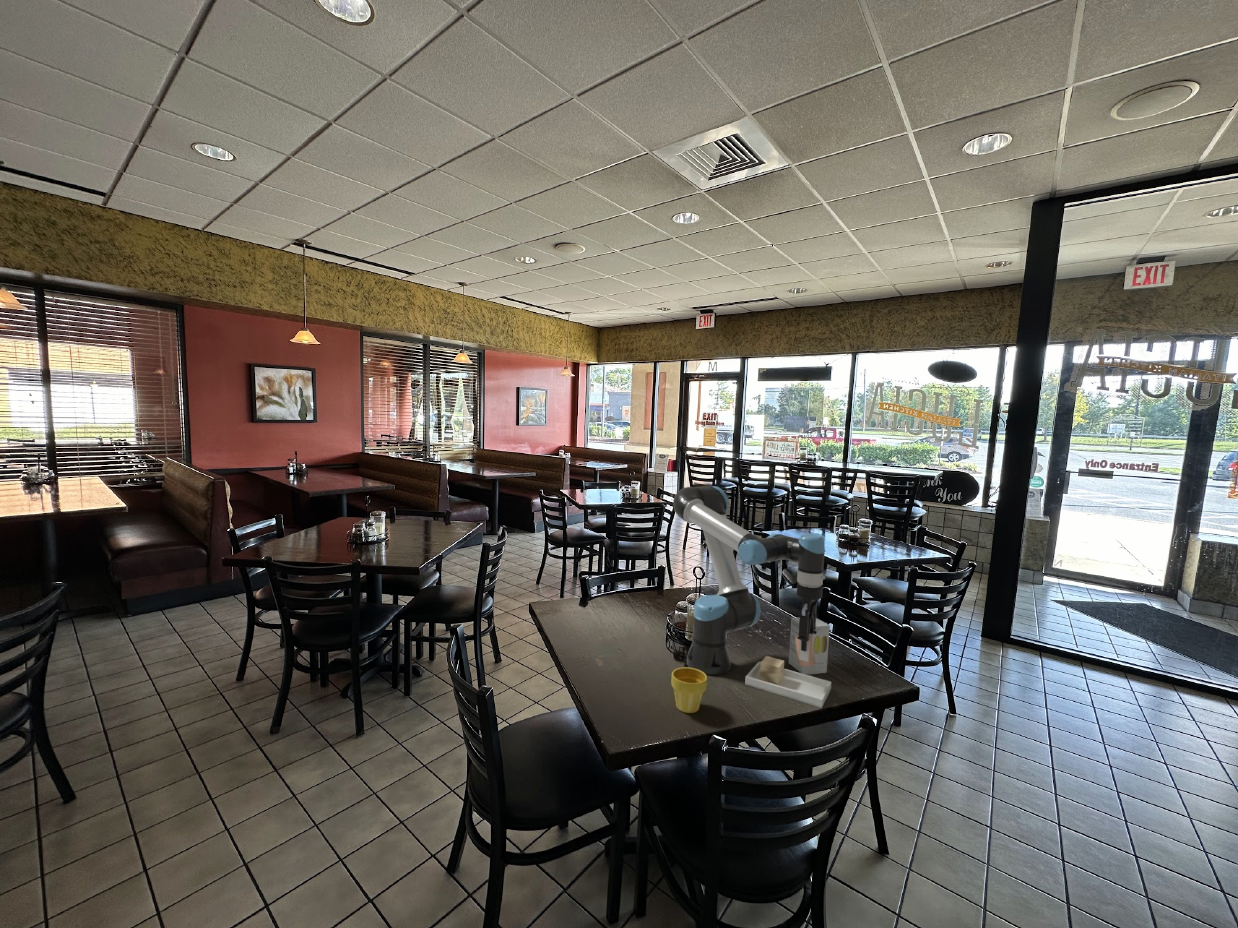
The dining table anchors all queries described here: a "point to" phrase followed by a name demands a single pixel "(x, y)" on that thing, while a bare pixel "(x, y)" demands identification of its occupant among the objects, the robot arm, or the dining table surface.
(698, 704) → the plant pot
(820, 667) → the supplement box
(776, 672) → the maple cube
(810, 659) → the terracotta cylinder
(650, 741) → the dining table surface
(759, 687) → the tray
